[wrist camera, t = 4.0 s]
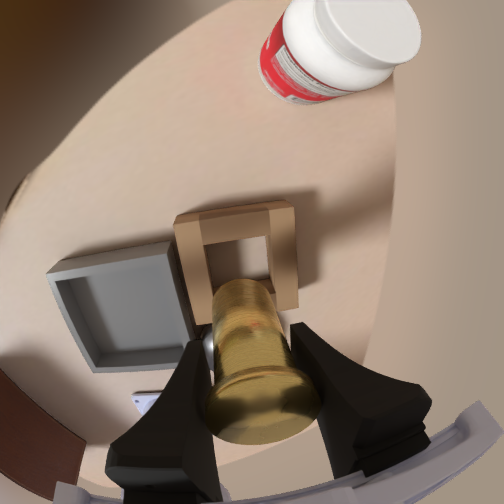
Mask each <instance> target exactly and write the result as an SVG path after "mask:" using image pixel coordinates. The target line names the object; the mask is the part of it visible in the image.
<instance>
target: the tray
mask: <svg viewBox="0 0 504 504" xmlns="http://www.w3.org/2000/svg"><path fill="white" fill-rule="evenodd" d="M45 275H46V277H47V280H48V282H49V285H50V288H51V290H52V292H53V295H54V297H55V300H56V302H57V304H58V307H59V309H60V311H61V313H62V315H63V318H64V320H65V322H66V324H67V326H68V328H69V330H70V332H71V334H72V336H73V338H74V340H75V342H76V344H77V346H78V348H79V349H80V351H81V353H82V355H83V357H84V358H85V360H86V362H87V364H88V365H89V367H90V369H91V370H92V372H93V373H116V372H137V371H152V370H165V369H175V368H176V367H177V365H178V363H179V361H180V358H181V356H182V354H183V351H184V349H185V346H186V344H187V342H188V341H195V340H196V337H195V334H194V330H193V327H192V323H191V320H190V316H189V312H188V309H187V305H186V301H185V297H184V293H183V289H182V285H181V281H180V277H179V273H178V269H177V265H176V260H175V256H174V251H173V247H172V242H171V241H165V242H159V243H153V244H148V245H142V246H136V247H130V248H125V249H119V250H114V251H108V252H103V253H98V254H92V255H87V256H82V257H77V258H71V259H66V260H61V261H58V262H57V263H56V264H55V265H54V266H53V267H52V268H51V269H50V270H49V271H48V272H47V273H46V274H45Z"/></svg>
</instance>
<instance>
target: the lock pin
mask: <svg viewBox="0 0 504 504" xmlns="http://www.w3.org/2000/svg"><path fill="white" fill-rule="evenodd" d="M212 334H213V362H214V384H215V385H214V386H213V387H212V388H211V389H210V390H209V392H208V393H207V396H206V399H205V423H206V426H207V428H208V430H209V431H210V432H211V433H212V434H213V435H215V436H216V437H218V438H219V439H222V440H224V441H227V442H230V443H235V444H241V445H261V444H268V443H273V442H277V441H281V440H284V439H286V438H289V437H291V436H293V435H295V434H297V433H299V432H301V431H302V430H304V429H305V428H307V427H308V426H309V425H310V424H311V423H312V422H313V421H314V420H315V419H316V418H317V416H318V415H319V412H320V410H321V399H320V397H319V394H318V392H317V390H316V387H315V385H314V382H313V381H312V379H311V378H310V377H309V376H308V375H307V374H306V373H304V372H302V371H300V370H298V369H297V367H296V364H295V362H294V359H293V356H292V354H291V351H290V348H289V345H288V343H287V340H286V337H285V334H284V332H283V329H282V326H281V324H280V321H279V318H278V315H277V313H276V310H275V307H274V305H273V302H272V299H271V297H270V294H269V292H268V290H267V289H266V288H265V287H264V286H263V285H262V284H261V283H259V282H257V281H254V280H251V279H236V280H232V281H229V282H227V283H225V284H224V285H222V286H221V287H220V288H219V289H218V290H217V291H216V293H215V295H214V297H213V300H212Z"/></svg>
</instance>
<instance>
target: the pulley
mask: <svg viewBox="0 0 504 504" xmlns="http://www.w3.org/2000/svg"><path fill="white" fill-rule="evenodd" d="M200 340H202V344H203V347H204V351H205V355H206V358H207V362H208V365H209V368H210V370H212V371H214V362H213V334H212V323H208V324H206V326H205V327H204V328H203V330H202V332H201V336H200Z"/></svg>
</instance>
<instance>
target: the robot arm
mask: <svg viewBox="0 0 504 504" xmlns="http://www.w3.org/2000/svg"><path fill="white" fill-rule="evenodd" d="M290 339H291V354H292V356H293V359H294V362H295V364H296V367H297V369H298V370H300V371H302V372H304V373H306V374H307V375H308V376H309V377H310V378H311V379H312V381H313V382H314V385H315V387H316V390H317V392H318V394H319V397H320V399H321V410H320V412H319V415H318V416H317V421H318V424H319V427H320V430H321V434H322V437H323V440H324V443H325V447H326V450H327V453H328V457H329V460H330V464H331V468H332V472H333V476H334V480H332V481H328V482H325V483H322V484H318V485H315V486H311V487H307V488H303V489H299V490H296V491H291V492H286V493H281V494H276V495H271V496H265V497H260V498H252V499H245V500H237V501H232V500H231V497H230V494H229V492H228V490H227V489H226V488H225V487H224V486H223V485H222V484H221V483H220V482H219V477H218V471H217V465H216V458H215V452H214V444H213V436H212V435H213V434H212V433H211V432H210V431H209V430H208V428H207V426H206V423H205V399H206V396H207V393H208V392H209V390H210V389H211V388H212V384H211V375H210V368H209V365H208V362H207V358H206V355H205V351H204V347H203V344H202V340H195V341H188V342H187V344H186V346H185V349H184V351H183V354H182V356H181V358H180V361H179V363H178V365H177V367H176V369H175V371H174V373H173V374H172V376H171V378H170V380H169V381H168V383H167V385H166V387H165V388H164V390H163V391H162V392H160V393H140V394H132V395H131V399H132V400H133V402H134V403H135V405H136V407H137V408H138V410H139V411H140V413H141V414H142V416H143V417H142V418H141V419H140V420H139V421H138V422H137V423H136V424H135V425H134V426H132V427H131V428H130V429H129V430H128V431H127V432H126V433H125V434H123V435H122V436H121V437H119V438H118V439H117V440H115V441H114V442H112V443H111V444H110V448H109V450H108V454H107V459H106V466H105V473H106V475H107V476H108V477H109V478H110V479H111V480H112V481H113V482H115V483H116V484H117V485H119V486H120V487H121V488H122V489H121V499H115V498H110V497H104V496H97V495H93V494H90V493H89V492H87V491H86V490H85V489H83V488H81V487H78V486H75V485H71V484H67V483H63V482H59V481H58V482H57V483H56V488H55V493H54V499H53V504H414V503H416V502H417V501H419V500H421V499H422V498H424V497H426V496H427V495H429V494H431V493H432V492H434V491H435V490H437V489H438V488H440V487H441V486H443V485H444V484H446V483H447V482H449V481H450V480H452V479H453V478H454V477H456V476H457V475H458V474H460V473H461V472H462V471H464V470H465V469H466V468H468V467H469V466H470V465H472V464H473V463H474V462H475V461H477V460H478V459H479V458H480V457H481V456H482V455H483V454H484V453H485V452H486V451H487V450H488V449H489V448H490V447H491V446H492V445H493V444H494V443H495V442H496V441H497V440H498V439H499V438H500V437H501V436H502V435H503V434H504V430H503V429H502V428H501V426H500V425H499V424H498V423H497V421H496V420H495V419H494V418H493V416H492V415H491V414H490V413H489V411H488V410H487V409H486V408H485V406H484V405H483V404H482V403H481V402H480V401H479V400H478V401H476V402H475V403H473V404H472V405H471V406H469V407H468V408H466V409H465V410H464V411H463V412H462V413H460V415H459V416H458V417H457V419H456V420H455V422H454V423H453V424H451V425H450V426H448V427H447V428H445V429H443V430H442V431H440V432H438V433H437V434H435V435H433V436H432V437H430V438H428V436H427V434H426V433H425V432H424V430H425V428H426V427H425V425H424V423H423V422H422V421H423V420H424V418H425V416H426V415H427V413H428V411H429V409H430V407H431V405H432V400H431V398H430V397H429V396H428V394H427V393H426V391H425V390H424V389H423V388H422V387H421V386H420V385H419V384H414V383H409V382H405V381H400V380H397V379H394V378H390V377H387V376H384V375H382V374H379V373H376V372H374V371H372V370H370V369H367V368H365V367H363V366H361V365H359V364H358V363H356V362H354V361H352V360H351V359H349V358H347V357H346V356H344V355H343V354H341V353H340V352H338V351H337V350H336V349H334V348H333V347H332V346H330V345H329V344H328V343H327V342H325V341H324V340H323V339H322V338H320V337H319V336H318V335H317V334H316V333H315V332H313V331H312V330H311V329H310V328H309V327H308V326H307V325H306V324H305V323H303V322H301V323H296V324H291V325H290Z"/></svg>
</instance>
